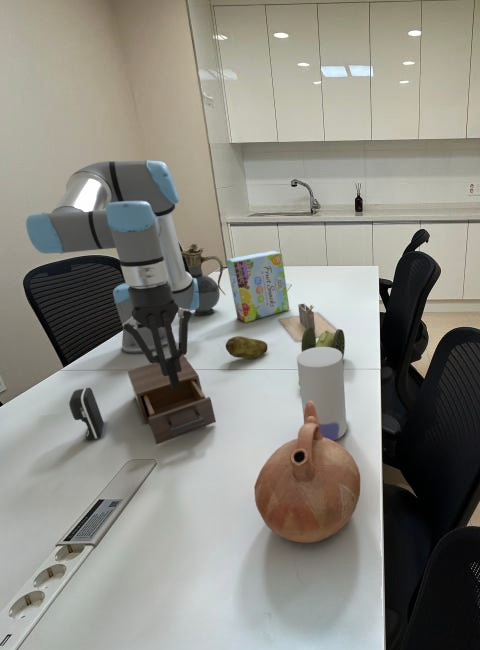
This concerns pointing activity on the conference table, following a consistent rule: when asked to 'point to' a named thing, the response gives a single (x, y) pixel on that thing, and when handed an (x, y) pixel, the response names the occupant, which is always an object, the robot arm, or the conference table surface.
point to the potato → (246, 347)
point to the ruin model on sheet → (306, 323)
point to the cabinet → (157, 381)
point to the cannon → (323, 340)
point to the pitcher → (203, 280)
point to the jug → (308, 485)
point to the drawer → (178, 411)
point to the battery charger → (87, 412)
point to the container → (324, 388)
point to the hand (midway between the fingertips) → (175, 385)
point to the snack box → (258, 285)
